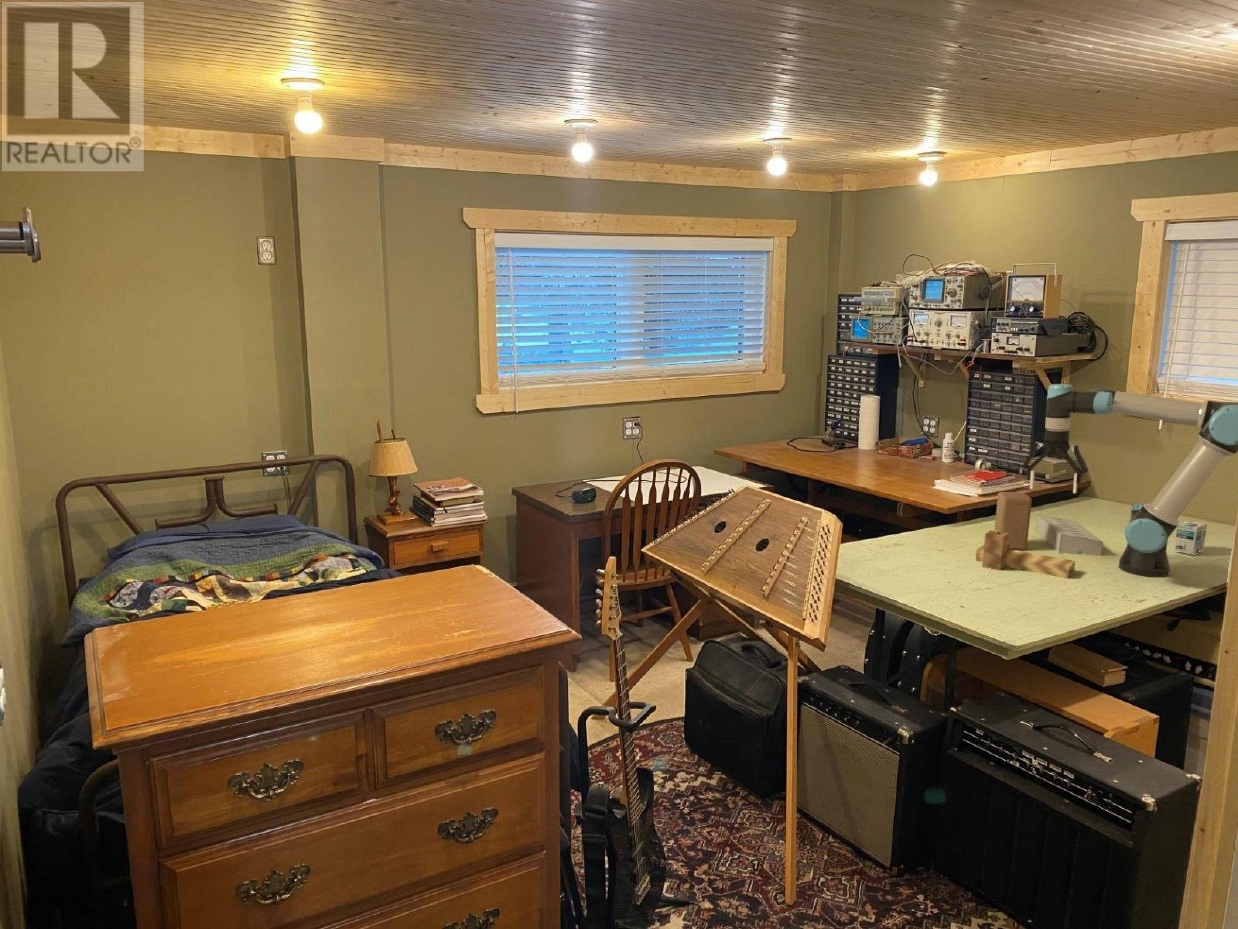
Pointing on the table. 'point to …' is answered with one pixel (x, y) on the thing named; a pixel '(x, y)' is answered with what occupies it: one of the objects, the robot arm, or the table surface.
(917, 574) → the table surface
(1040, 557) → the plank
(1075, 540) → the warehouse
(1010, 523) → the wooden block
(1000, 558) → the wooden box
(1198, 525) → the light bulb box
